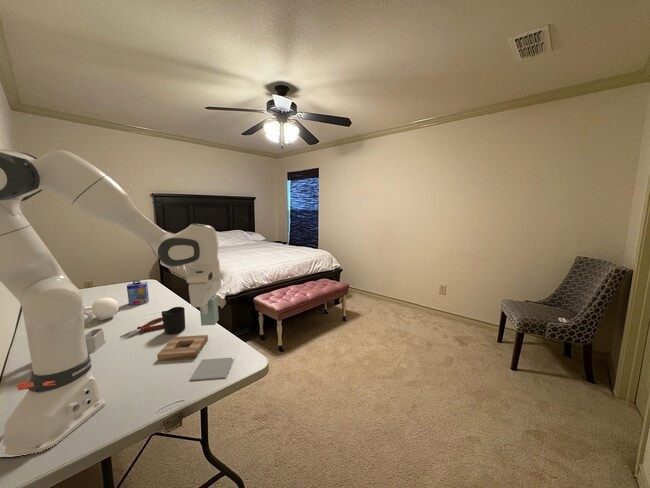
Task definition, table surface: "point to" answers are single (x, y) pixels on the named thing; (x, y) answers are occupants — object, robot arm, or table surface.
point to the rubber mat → (212, 369)
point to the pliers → (145, 328)
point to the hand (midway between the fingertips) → (209, 309)
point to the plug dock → (175, 352)
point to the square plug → (210, 313)
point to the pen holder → (174, 320)
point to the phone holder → (93, 335)
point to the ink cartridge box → (137, 293)
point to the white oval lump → (104, 308)
